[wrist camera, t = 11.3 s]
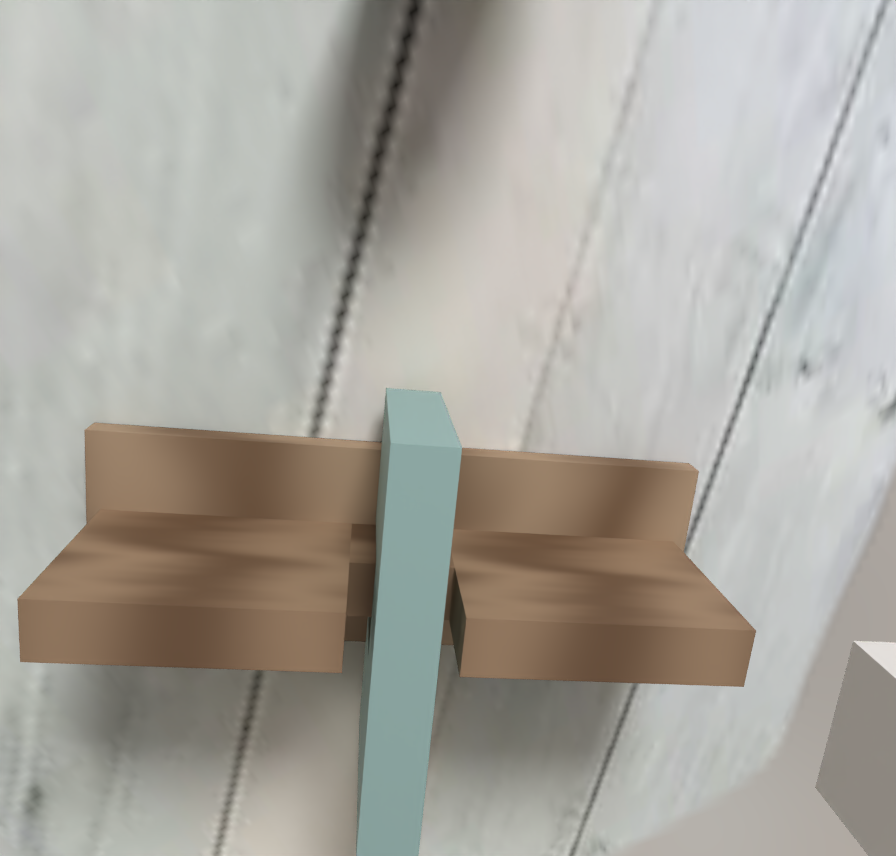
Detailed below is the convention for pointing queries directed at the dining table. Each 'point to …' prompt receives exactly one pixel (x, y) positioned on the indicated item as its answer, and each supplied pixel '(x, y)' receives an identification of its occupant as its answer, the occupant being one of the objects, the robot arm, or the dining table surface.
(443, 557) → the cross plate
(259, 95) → the dining table surface
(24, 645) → the jig
